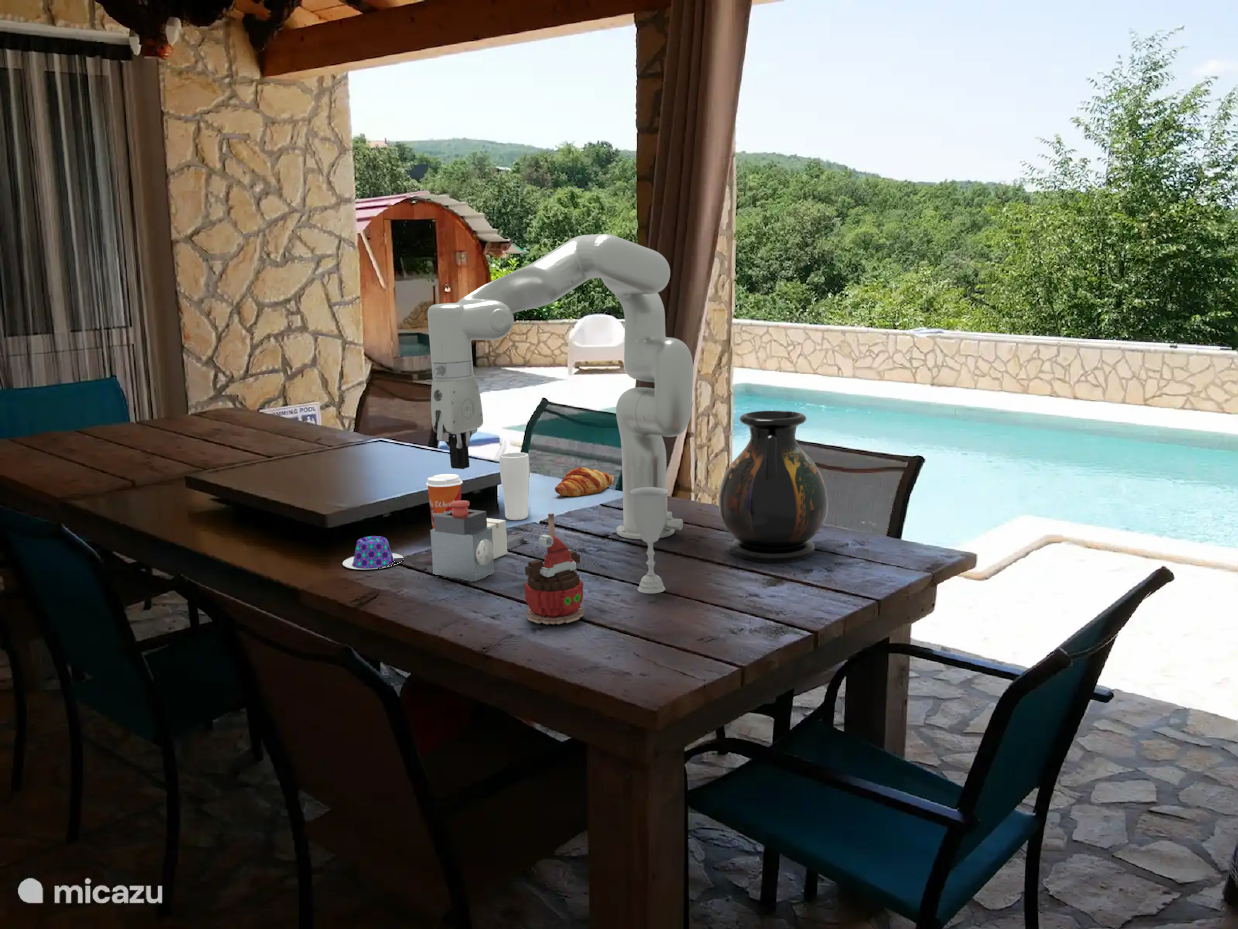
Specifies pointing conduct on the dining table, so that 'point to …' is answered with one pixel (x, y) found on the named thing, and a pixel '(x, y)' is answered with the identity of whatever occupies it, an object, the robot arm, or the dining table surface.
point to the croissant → (583, 482)
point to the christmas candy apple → (554, 583)
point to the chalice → (650, 529)
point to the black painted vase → (773, 492)
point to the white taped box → (498, 536)
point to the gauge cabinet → (462, 545)
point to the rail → (515, 540)
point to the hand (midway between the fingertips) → (460, 467)
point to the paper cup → (443, 493)
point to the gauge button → (459, 508)
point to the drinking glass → (515, 484)
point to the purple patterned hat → (371, 554)
